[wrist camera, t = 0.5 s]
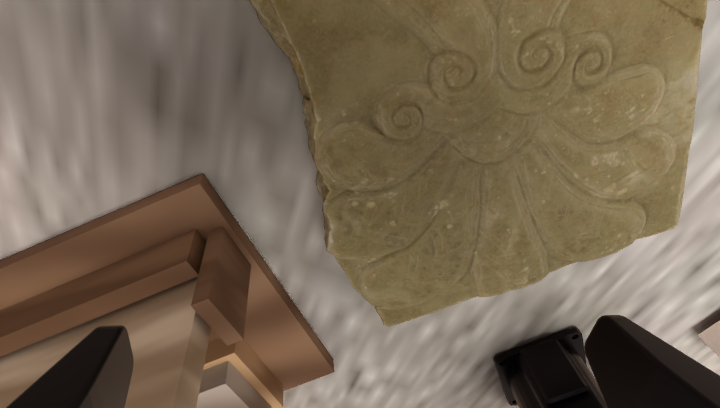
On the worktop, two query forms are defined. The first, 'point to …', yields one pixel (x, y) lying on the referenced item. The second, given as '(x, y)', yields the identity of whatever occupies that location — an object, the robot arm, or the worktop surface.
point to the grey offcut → (227, 389)
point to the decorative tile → (489, 135)
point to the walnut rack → (160, 279)
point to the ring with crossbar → (712, 337)
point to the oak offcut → (246, 368)
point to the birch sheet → (149, 347)
